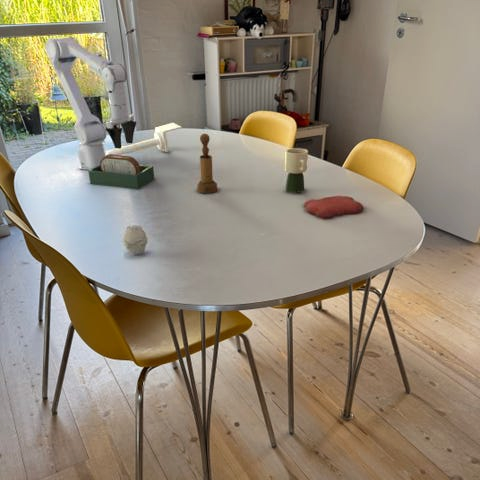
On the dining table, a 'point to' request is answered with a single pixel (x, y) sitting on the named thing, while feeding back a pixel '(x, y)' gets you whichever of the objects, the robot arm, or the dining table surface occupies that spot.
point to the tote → (122, 177)
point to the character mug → (295, 168)
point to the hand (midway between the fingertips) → (124, 145)
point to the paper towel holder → (149, 141)
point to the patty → (333, 206)
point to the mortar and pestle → (206, 169)
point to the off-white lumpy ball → (135, 239)
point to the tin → (120, 164)
